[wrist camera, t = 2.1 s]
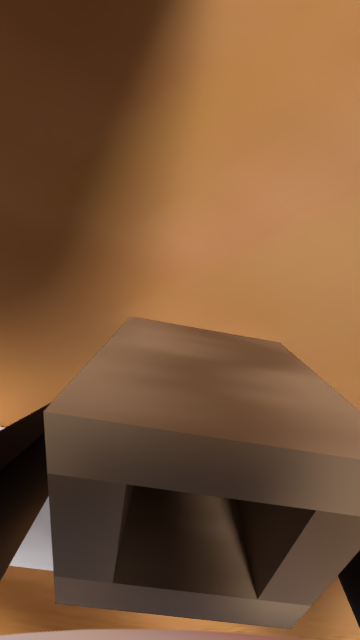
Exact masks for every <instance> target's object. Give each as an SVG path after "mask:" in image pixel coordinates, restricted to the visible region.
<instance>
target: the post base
mask: <svg viewBox="0 0 360 640" xmlns="http://www.w3.org/2000/svg"><path fill="white" fill-rule="evenodd" d="M4 428H5V427H0V430H2V429H4ZM9 566H16V567H25V568H33V569H42V570H50V571H54V570H53V555H52V539H51V523H50V507H49V496H48V498H47V500H46V502H45V503H44V505H43V507H42V509H41V510H40V512H39V514H38V516H37V517H36V519H35V521H34V523H33V524H32V526H31V528H30V530H29V531H28V533H27V535H26V537H25V538H24V540H23V542H22V544H21V545H20V547H19V549H18V551H17V552H16V554H15V556H14V558H13V559H12V561H11V563H10V565H9Z"/></svg>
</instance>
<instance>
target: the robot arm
mask: <svg viewBox="0 0 360 640" xmlns="http://www.w3.org/2000/svg"><path fill="white" fill-rule="evenodd" d="M51 403H52V402H51ZM51 403H50V404H51ZM50 404H48V405H46V406H44V407H42V408H40V409H39V410H37V411H35V412H33V413H31V414H30V415H28V416H26V417H24V418H22V419H20V420H19V421H17V422H15V423H13V424H11V425H10V426H8V427H6V428H4V429H2V430H0V580H1V579H2V577H3V575H4V573H5V572H6V570H7V568H8V566H9V565H10V563H11V561H12V559H13V558H14V556H15V554H16V552H17V551H18V549H19V547H20V545H21V544H22V542H23V540H24V538H25V537H26V535H27V533H28V531H29V530H30V528H31V526H32V524H33V523H34V521H35V519H36V517H37V516H38V514H39V512H40V510H41V509H42V507H43V505H44V503H45V502H46V500H47V498H48V496H49V492H48V476H47V460H46V444H45V428H44V413H43V411H44V410H45V409H46V408H47V407H48V406H49V405H50ZM338 577H339V580H340V582H341V585H342V587H343V589H344V592H345V594H346V596H347V599H348V601H349V604H350V606H351V608H352V611H353V613H354V615H355V618H356V620H357V623H358V625H359V627H360V550H359V552H358V553H357V554H356V555H355V556H354V557H353V558H352V560H351V561H350V562H349V563H348V564H347V565H346V567H345V568H344V569H343V570H342V571H341V572H340V573H339V575H338Z"/></svg>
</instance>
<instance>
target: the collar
mask: <svg viewBox="0 0 360 640" xmlns="http://www.w3.org/2000/svg"><path fill="white" fill-rule="evenodd" d="M43 413H44V428H45V444H46V460H47V476H48V492H49V507H50V523H51V539H52V555H53V570H54V586H55V602H56V604H64V605H73V606H82V607H92V608H101V609H110V610H119V611H128V612H137V613H147V614H156V615H165V616H174V617H183V618H192V619H201V620H211V621H220V622H229V623H238V624H247V625H256V626H265V627H275V628H284V629H292V628H293V626H294V625H295V624H296V623H297V622H298V621H299V620H300V618H301V617H302V616H303V615H304V614H305V613H306V611H307V610H308V609H309V608H310V607H311V606H312V605H313V603H314V602H315V601H316V600H317V599H318V598H319V596H320V595H321V594H322V593H323V592H324V591H325V590H326V588H327V587H328V586H329V585H330V584H331V583H332V581H333V580H334V579H335V578H336V577H337V576H338V575H339V573H340V572H341V571H342V570H343V569H344V568H345V567H346V565H347V564H348V563H349V562H350V561H351V560H352V558H353V557H354V556H355V555H356V554H357V553H358V552H359V550H360V411H359V410H358V409H357V408H356V407H355V406H354V405H352V404H351V403H350V402H349V401H348V400H347V399H345V398H344V397H343V396H342V395H341V394H340V393H338V392H337V391H336V390H335V389H334V388H332V387H331V386H330V385H329V384H328V383H327V382H325V381H324V380H323V379H322V378H321V377H320V376H318V375H317V374H316V373H315V372H314V371H313V370H311V369H310V368H309V367H308V366H307V365H305V364H304V363H303V362H302V361H301V360H300V359H298V358H297V357H296V356H295V355H294V354H293V353H291V352H290V351H289V350H288V349H287V348H286V347H284V346H283V345H282V344H281V343H278V342H272V341H267V340H261V339H255V338H249V337H244V336H238V335H232V334H227V333H221V332H215V331H210V330H204V329H198V328H193V327H187V326H181V325H175V324H170V323H164V322H158V321H153V320H147V319H141V318H136V317H130V318H129V319H128V320H127V321H126V322H125V323H124V325H123V326H122V327H121V328H120V329H119V330H118V331H117V332H116V333H115V334H114V335H113V337H112V338H111V339H110V340H109V341H108V342H107V343H106V344H105V345H104V346H103V347H102V348H101V350H100V351H99V352H98V353H97V354H96V355H95V356H94V357H93V358H92V359H91V360H90V362H89V363H88V364H87V365H86V366H85V367H84V368H83V369H82V370H81V371H80V372H79V373H78V375H77V376H76V377H75V378H74V379H73V380H72V381H71V382H70V383H69V384H68V385H67V386H66V388H65V389H64V390H63V391H62V392H61V393H60V394H59V395H58V396H57V397H56V398H55V400H54V401H53V402H52V403H51V404H50V405H49V406H48V407H47V408H46V409H45V410H44V411H43Z"/></svg>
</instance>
